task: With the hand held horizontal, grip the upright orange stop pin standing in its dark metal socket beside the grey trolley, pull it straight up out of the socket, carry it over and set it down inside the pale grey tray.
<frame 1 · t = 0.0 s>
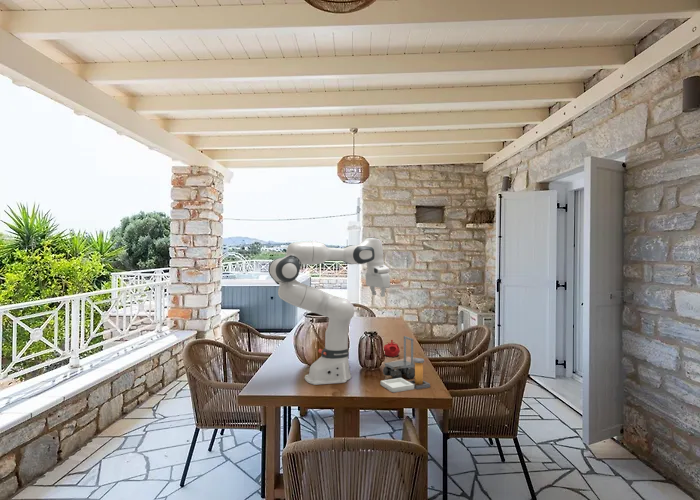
hand: (378, 295, 203), 39 cm above the table, tool pointing down, fingers open, 8 cm apart
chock: (388, 381, 187), on the table
socket: (418, 385, 181), on the table
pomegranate: (391, 356, 236), on the table
tray: (397, 387, 179), on the table
trolley: (399, 377, 193), on the table
brick: (405, 369, 209), on the table
stop pin: (418, 372, 181), in the socket
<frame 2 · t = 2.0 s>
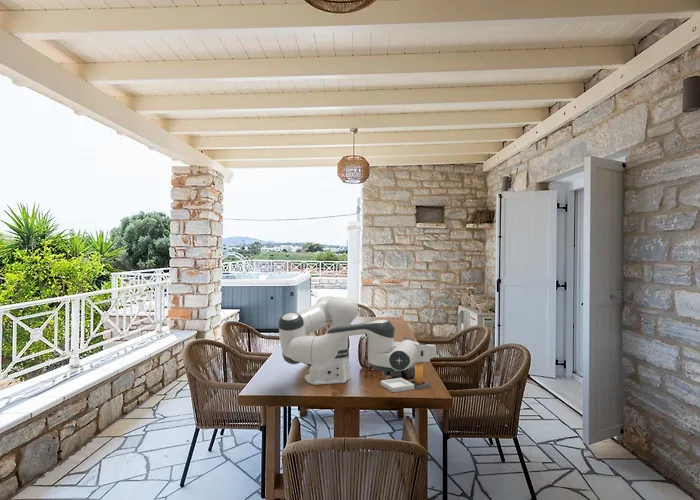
hand: (413, 345, 169), 21 cm above the table, tool horizontal, fingers open, 8 cm apart
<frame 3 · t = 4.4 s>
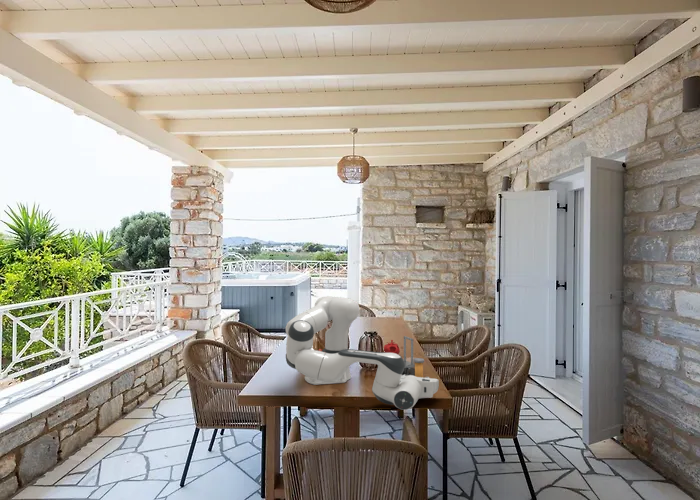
hand: (416, 377, 172), 6 cm above the table, tool horizontal, fingers open, 8 cm apart
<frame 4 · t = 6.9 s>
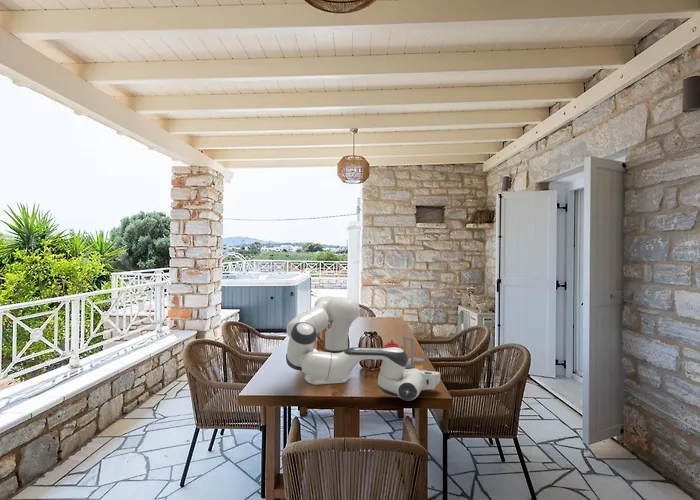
hand: (419, 370, 181), 7 cm above the table, tool horizontal, fingers closed on stop pin, 4 cm apart
stop pin: (418, 372, 181), in the socket, touching gripper
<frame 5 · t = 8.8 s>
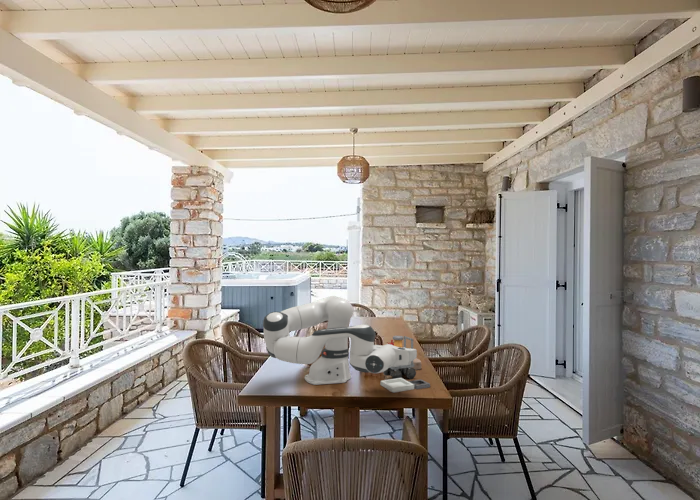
hand: (398, 348, 180), 17 cm above the table, tool horizontal, fingers closed on stop pin, 4 cm apart
stop pin: (398, 350, 180), point 16 cm above the table, touching gripper
when the fingers open (8 cm above the table, at t = 10.7 s): stop pin drops 1 cm, resting on tray.
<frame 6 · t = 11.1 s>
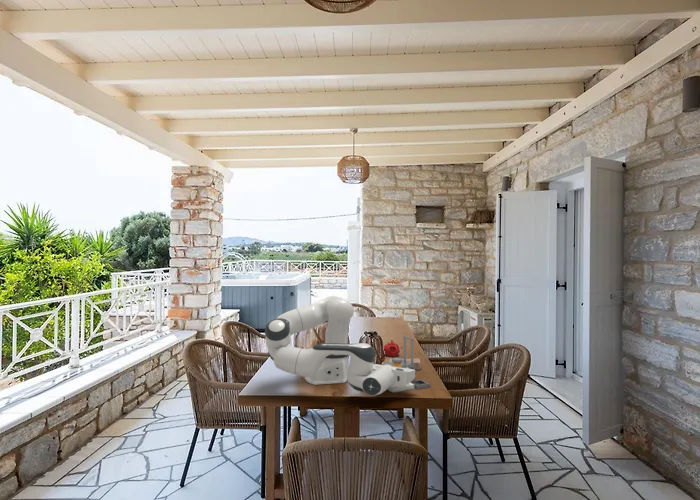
hand: (397, 367, 180), 8 cm above the table, tool horizontal, fingers open, 7 cm apart
stop pin: (397, 372, 179), in the tray, point 7 cm above the table
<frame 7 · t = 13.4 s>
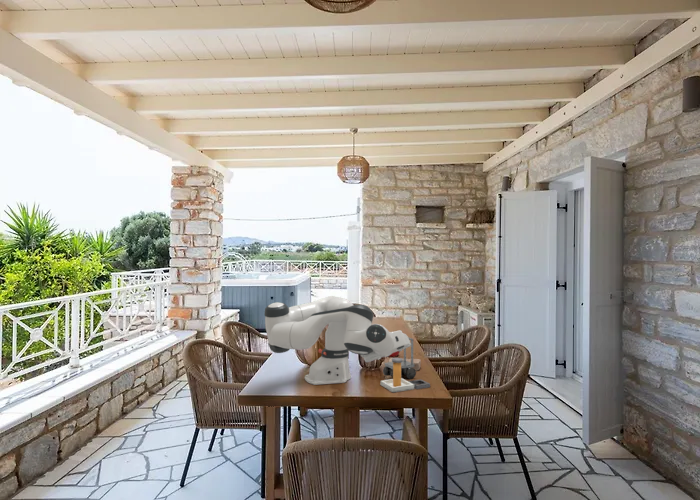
hand: (389, 353, 168), 18 cm above the table, tool tilted 65°, fingers open, 8 cm apart
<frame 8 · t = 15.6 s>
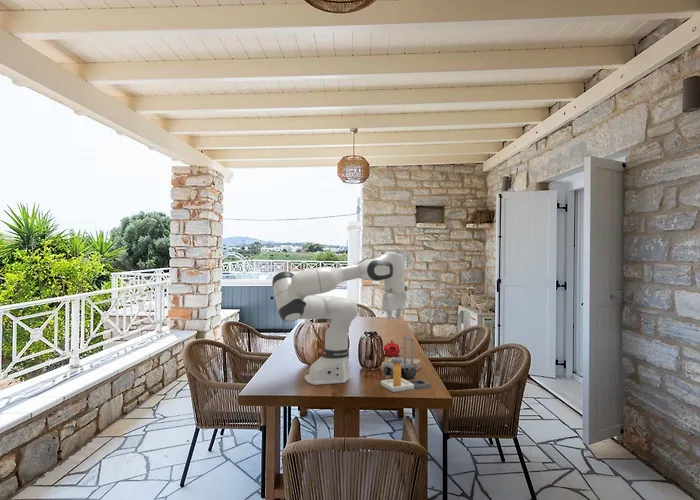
hand: (394, 319, 175), 31 cm above the table, tool pointing down, fingers open, 8 cm apart
at the end: stop pin inside the target area on the tray (0.1 cm from its centre), point 6.6 cm above the tray's base; the gripper is holding nothing; stop pin moved 10.3 cm from its start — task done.
